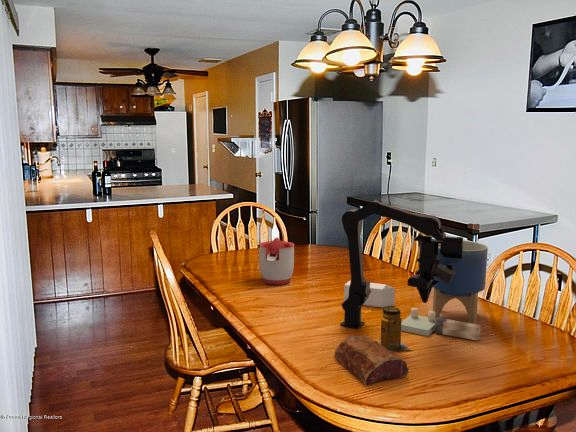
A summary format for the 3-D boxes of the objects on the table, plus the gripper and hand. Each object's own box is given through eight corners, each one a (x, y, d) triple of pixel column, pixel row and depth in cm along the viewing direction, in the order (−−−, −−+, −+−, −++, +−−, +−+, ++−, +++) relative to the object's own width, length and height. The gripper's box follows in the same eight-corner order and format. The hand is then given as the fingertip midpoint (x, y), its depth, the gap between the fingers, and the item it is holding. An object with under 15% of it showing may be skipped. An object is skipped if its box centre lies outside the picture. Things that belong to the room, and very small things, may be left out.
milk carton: (343, 302, 201) (392, 309, 193) (343, 284, 200) (393, 290, 192) (348, 297, 207) (396, 303, 200) (349, 280, 206) (396, 285, 199)
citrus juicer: (253, 286, 222) (253, 240, 219) (264, 276, 238) (264, 233, 235) (288, 289, 218) (289, 242, 215) (297, 278, 235) (298, 235, 232)
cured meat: (371, 341, 163) (371, 320, 162) (421, 374, 140) (422, 350, 139) (320, 351, 156) (320, 330, 155) (365, 388, 133) (365, 363, 132)
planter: (415, 312, 190) (418, 242, 186) (455, 305, 198) (459, 237, 194) (453, 330, 173) (457, 252, 169) (495, 321, 181) (500, 247, 177)
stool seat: (428, 336, 167) (428, 321, 166) (398, 330, 172) (399, 315, 171) (439, 325, 177) (439, 311, 176) (410, 319, 182) (411, 305, 181)
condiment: (376, 343, 161) (377, 306, 159) (401, 341, 163) (403, 304, 161) (384, 352, 154) (385, 314, 152) (411, 350, 155) (412, 312, 154)
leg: (433, 332, 169) (434, 319, 168) (436, 329, 172) (437, 316, 171) (477, 341, 162) (478, 327, 161) (479, 337, 165) (480, 324, 165)
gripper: (444, 265, 152) (440, 316, 155) (462, 254, 167) (458, 300, 170) (408, 259, 158) (405, 308, 161) (428, 249, 173) (425, 293, 176)
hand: (424, 302), depth 167 cm, fingers closed
